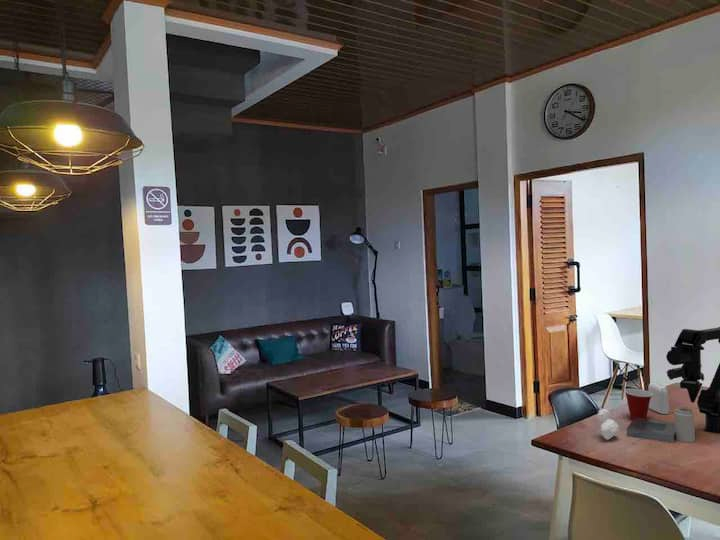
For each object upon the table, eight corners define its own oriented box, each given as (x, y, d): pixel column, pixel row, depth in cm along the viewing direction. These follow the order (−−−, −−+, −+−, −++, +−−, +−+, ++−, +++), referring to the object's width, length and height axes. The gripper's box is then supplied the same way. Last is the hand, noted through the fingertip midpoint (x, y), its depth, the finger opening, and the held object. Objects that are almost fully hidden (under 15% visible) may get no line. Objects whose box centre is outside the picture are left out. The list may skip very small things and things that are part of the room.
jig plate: (635, 424, 226) (635, 417, 225) (679, 431, 216) (679, 423, 216) (626, 435, 213) (626, 428, 213) (673, 443, 203) (673, 435, 203)
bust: (615, 444, 204) (615, 415, 204) (594, 441, 209) (593, 412, 208) (621, 435, 214) (620, 406, 214) (600, 431, 219) (600, 404, 218)
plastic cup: (652, 424, 224) (652, 395, 224) (623, 421, 230) (622, 393, 230) (654, 417, 234) (653, 389, 233) (626, 413, 239) (625, 386, 239)
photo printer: (647, 408, 247) (646, 380, 246) (656, 407, 247) (655, 380, 246) (661, 414, 236) (660, 386, 236) (670, 414, 237) (670, 386, 236)
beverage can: (693, 439, 207) (692, 408, 207) (695, 445, 202) (694, 413, 201) (674, 437, 210) (673, 406, 210) (676, 443, 204) (674, 411, 204)
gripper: (671, 355, 222) (672, 393, 222) (664, 364, 207) (665, 405, 207) (704, 358, 215) (704, 397, 215) (698, 367, 200) (699, 409, 201)
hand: (692, 402), depth 210 cm, fingers closed
